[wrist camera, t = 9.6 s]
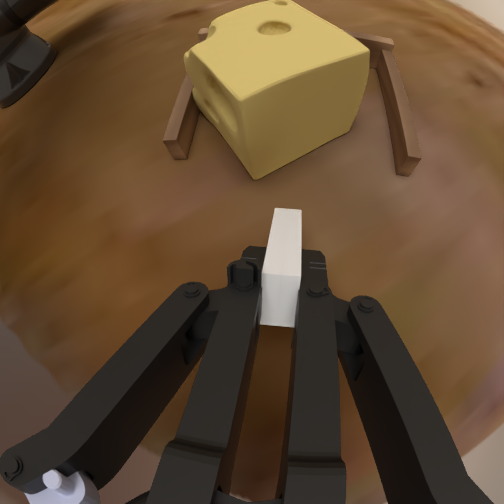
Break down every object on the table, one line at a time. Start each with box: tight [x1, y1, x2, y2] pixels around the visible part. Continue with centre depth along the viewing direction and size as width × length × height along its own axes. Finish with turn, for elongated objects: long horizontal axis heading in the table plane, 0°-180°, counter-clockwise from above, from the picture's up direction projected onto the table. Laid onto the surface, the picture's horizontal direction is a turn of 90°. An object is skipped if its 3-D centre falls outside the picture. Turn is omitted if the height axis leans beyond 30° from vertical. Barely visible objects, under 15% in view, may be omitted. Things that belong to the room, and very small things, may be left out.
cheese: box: [184, 0, 370, 180], centre depth 20 cm, size 10×11×10 cm
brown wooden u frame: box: [163, 28, 422, 176], centre depth 23 cm, size 20×15×4 cm
